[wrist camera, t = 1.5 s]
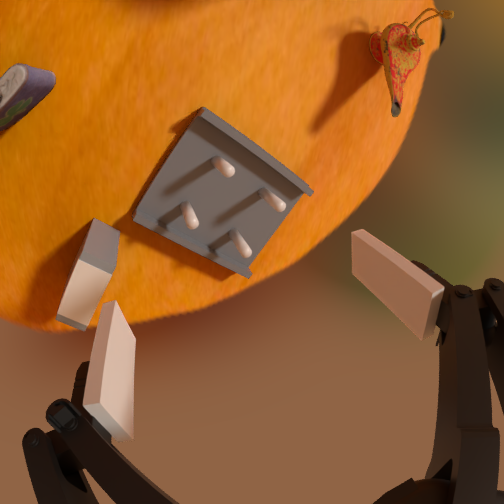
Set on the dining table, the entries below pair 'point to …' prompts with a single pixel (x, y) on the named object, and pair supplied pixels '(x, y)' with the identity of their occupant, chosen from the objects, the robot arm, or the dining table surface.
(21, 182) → the dining table surface
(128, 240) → the dining table surface
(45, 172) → the dining table surface
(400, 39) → the magic lamp
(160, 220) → the grey pegged base
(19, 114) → the flask
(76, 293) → the block
